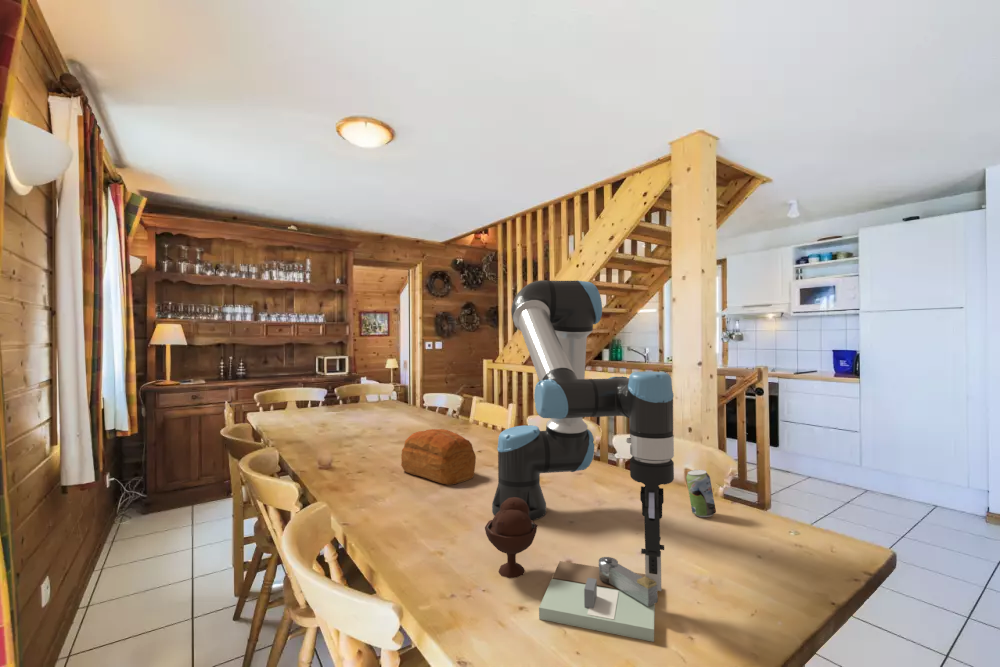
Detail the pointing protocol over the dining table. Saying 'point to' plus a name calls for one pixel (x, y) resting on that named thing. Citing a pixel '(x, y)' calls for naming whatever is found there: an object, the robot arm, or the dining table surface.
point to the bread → (439, 456)
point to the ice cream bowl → (511, 534)
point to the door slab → (597, 609)
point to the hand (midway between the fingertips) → (653, 587)
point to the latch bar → (628, 581)
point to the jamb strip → (580, 574)
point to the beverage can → (700, 493)
